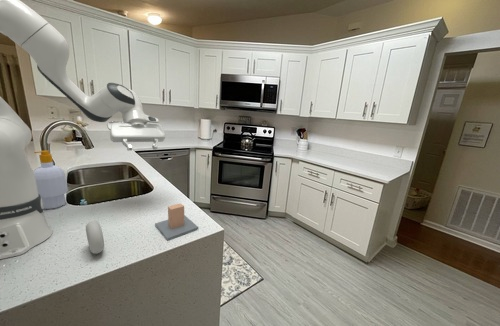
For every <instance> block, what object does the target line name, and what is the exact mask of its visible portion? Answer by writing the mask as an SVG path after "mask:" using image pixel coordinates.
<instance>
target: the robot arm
mask: <svg viewBox="0 0 500 326" xmlns="http://www.w3.org/2000/svg"><path fill="white" fill-rule="evenodd" d="M0 33H1V34H2V35H4V36H5V37H8V38H9V39H10V41H13V42H14V43H15V44H16V45H18V47H20V48H22V49H23V51H25V52H27V54H29V56H30V57H31V58H32V59H33V61H34V62H35V63H36V68H37V70H38V71H39V74H41V75H42V76H43V77H44V78H45V80H47V81H48V82H49V83H50V84H51V85H53V87H55V88H56V89H57V90H58V91H59V92H60V93H61V94H63V95H64V96H65V97H66V98H68V100H69V101H70V102H71V103H73V104H74V105H75V106H77V108H79V110H80V111H81V112H82V113H83V114H84V115H85V116H86V118H87V119H89V120H91V121H93V122H97V123H106V122H107V121H108V120H110V119H111V118H112V117H113V116H114V115H115V114H117V113H118V112H120V113H121V115H122V117H121V119H122V121H115V120H111V121H110V122H109V121H108V123H107V124H106V126H107V129H108V130H109V136H110V141H111V142H112V143H121V144H122V145H123V146H124V147H125V148H126V150H127V151H128V152H129V151H132V150H133V144H130V143H153V144H152V146H151V147H152V150H153V151H155V150H158V143H161V142H164V141H165V139H166V133H165V130H164V128H163V126H162V125H161V124H160V120H159V118H157V117H154V116H152V115H151V116H150V115H148V114H146V113H145V112H144V108H143V107H144V106H143V104H142V102H141V99H140V97H139V96H138V94H137V92H136V91H134V90H133V89H132V88H131V89H130V88H127V87H126V86H124V85H122V84H119V83H115V82H108V83H106V84H104V86H102V87H101V88H100V89H99V90H98V91H96V92H95V93H93V94H92V95H87V94H86V93H85V92H84V91H83V90H81V88H80V87H78V86H77V85H76V84H75V83H74V82H73V81H72V80H71V79H70V78H69V76H68V75H67V71H66V70H67V65H68V61H69V58H70V47H69V44H68V41H67V39H66V38H65V37H64V35H63V34H62V33H61V32H59V30H57V28H55V27H54V26H53V25H52V24H51V23H49V22H48V20H46V19H45V18H44V17H42V16H41V14H39V13H38V12H36V11H35V10H34V9H32V8H31V7H30V6H29V5H27V4H25V3H24V2H23V1H21V0H0ZM32 138H33V136H32V130H31V128H30V127H29V126H28V124H27V123H25V122H24V121H23V120H22V118H21V117H20V116H19V115H18V113H17V112H16V111H15V110H14V109H13V107H12V106H10V104H8V102H7V101H5V100H4V98H2V96H1V95H0V260H2V259H7V258H12V257H16V256H17V257H18V256H21V255H23V254H25V253H27V252H28V251H29V250H31V249H32V248H33V247H36V246H38V245H40V244H41V243H43V242H44V241H45V242H46V240H48V239H49V238H50V237H51V236H52V234H53V230H52V228H51V226H50V225H49V223H48V221H47V219H46V217H45V215H44V208H43V203H42V198H41V196H40V194H38V190H37V185H36V179H35V174H34V170H33V168H32V167H31V164H30V162H29V159H28V157H27V153H26V150H25V149H26V147H27V146H29V145H30V143H31V142H32V141H31V140H32Z"/></svg>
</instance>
